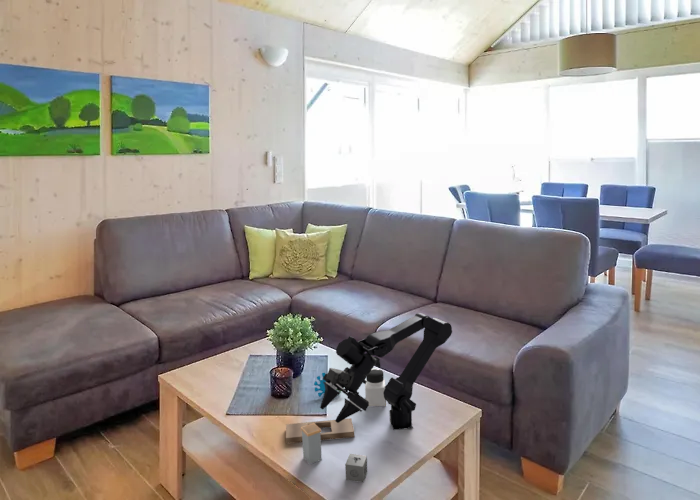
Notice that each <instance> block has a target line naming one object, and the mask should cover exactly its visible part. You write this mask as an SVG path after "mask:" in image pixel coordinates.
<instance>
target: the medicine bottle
mask: <svg viewBox="0 0 700 500" xmlns="http://www.w3.org/2000/svg"><path fill="white" fill-rule="evenodd" d="M365 380H366V381H367V382H366V384H364V391H365V392H364V393H365V394H364V395H365V398H364V399H366V400H367V401H368V402H369V406H368V408H369V407H373V408H374V407H386V406H387V401H386V400H385V398H384V394H383V393H384V390H385V386H386V380H385V378H384V371H383V370H382V369H381V368H378V367H377V368H374V367H373V368H372V370H371V371H370V373H369V374H368V376H367V377H366V379H365Z"/></svg>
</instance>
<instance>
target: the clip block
mask: <svg viewBox="0 0 700 500" xmlns="http://www.w3.org/2000/svg"><path fill="white" fill-rule="evenodd" d="M301 430H302V441H303V442H302V452H303V453H302V454H303V459H304V460H305V461H306V462H307V464H309V465H312V464H314V463H317V462H319V461H322V442H321V441H322V440H321V437H320V433H322V428H319V427H318V426H317V425H316V424H315V423H312V424H309V425H306V426H303V427H301Z"/></svg>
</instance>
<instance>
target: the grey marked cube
mask: <svg viewBox="0 0 700 500" xmlns="http://www.w3.org/2000/svg"><path fill="white" fill-rule="evenodd" d="M344 465H345V481H348V482H357V483H364V482H365V479H366V477H367V474H368V456H367V455H363V454H356V453H349V455H348V458H347V459H346V462H345V463H344Z"/></svg>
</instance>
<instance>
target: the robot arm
mask: <svg viewBox="0 0 700 500" xmlns="http://www.w3.org/2000/svg"><path fill="white" fill-rule="evenodd" d="M422 330H423V339H422V340H421V342H420V344H419V346H418V347H417V349H416V350H415V352H414V353H413V354H412V356H411V358H410V360H409V361H408V363H407V365H405V368H404V369H403V371H402V372H401V374H400V375H399V376H398V377H396V378H394V377H390V379H389V380H388V382H387V384H385V390H384V393H383V394H384V398H385V400H386V403H387V404H388V405H390V410H388V411H389V413H388V414H389V423H390V425H391V426H392V428H393V430H394V431H396V430H404V428H407V429H413V428H414V425H413V423H412V421H413V419H412V418H413V417H412V416H413V414H412V412H413V411H415V410H416V407H417V403H415V402H414V401H413V400H411V398H412V396H413V386H414V384H415V382H416V381H417V379H418V378H419V376H420V374H421V373H422V371H423V370H424V368H425V366H426V365H427V363H428V362H429V359H430V358H431V357H432V355H433V353H435V351H436V349H437V348H438V347H440V346H442V345H444V344H445V343H446V342H447V341H448V339H449V338H450V337H451V336H452V334H453V327H452V325H451V323H449V322H447V321H444V320H442V319H440V318H437V317H430V316H429V315H427V314H424V313H422V312H417V313H415V315H414V316H411V317H410V318H409V319H406V320H405V321H402V322H401V323H399V324H397V325H395V326H393V327H392V328H390V329H387V330H381V331H376V332H373V333H370V334H369V335H367V336H366V337H365V338H363V339H360V340H358V341H357V340H356V338H355V337H353V336H351V335H349V336H348V338H345V339H343V340H342V341H340V342H339V343H338V344H337V346H336V349H335V353H336V355H337V356H338V357H340V358H341V359H342V360H344V361H345V362H347V364H349V365H350V366H349V367H345V368H344V369H343V370H341V369H338V368H333V367H329V369H328V372H326V373H325V376H324V377H323V376H322V379H323V380H325V381H326V382H323V383H324V385H325V393H323V396H324V397H323V396H322V400H321V402H320V406H319V408H320V410H324V409H325V408H326V407H328V405H330V404H331V402H333V401H334V400H335V399H336V398H337V397H338V396H339V395H340V392H339V391H341V392H342V393H343V394H345V395H346V396H347V398H344V405H343V407H342V408H341V410H340V411H339V413H338V415H337V416H336V418H335V419H334V420H335V421H336V422H337V423H339V422H340V421H342V420H344V419H348V417H349V418H350V416H352V415H354V414H357V413H358V412H362V411H365V412H366V411H367V409H368V408H369V407H368V406H369V402H368V401H367V400H366V399H365V398H364V397H363V396H361V395H360V392H359V391H358V390H359V389H360V388H361V386H362V384H364V385H365V384H366V382H367V381H366V377H367V376H368V374H369V373H370V371H371V370H372V369H373V368H374V367H375V366H376V367H377V368H378V369H381V366H382V365H381V361H380V358H384V357H386V356H387V355H388V354H390V353H391V352H392V351H393V349H394V348H395V346H396V345H397V344H398V343H400V342H402V341H404V340H405V339H407V338H409V337H411V336H413V335H414V334H417V333H418V332H419V331H422ZM336 390H338V391H336Z"/></svg>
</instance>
